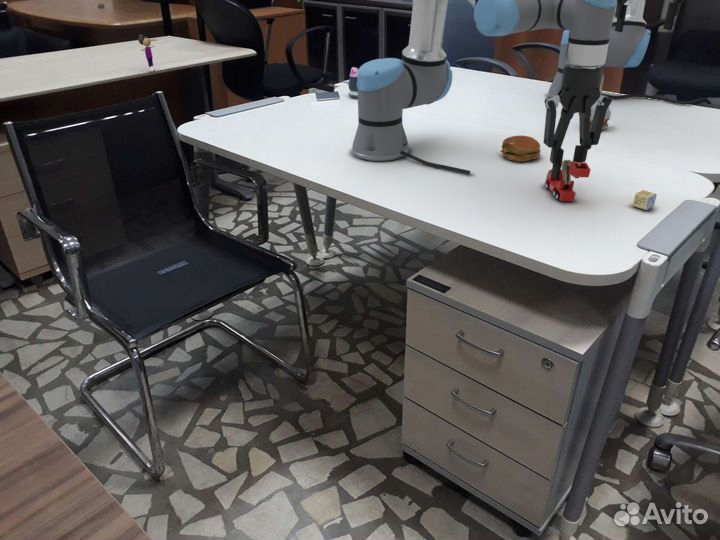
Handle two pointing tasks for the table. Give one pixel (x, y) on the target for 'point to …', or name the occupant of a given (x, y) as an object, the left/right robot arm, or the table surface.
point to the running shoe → (353, 82)
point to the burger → (520, 148)
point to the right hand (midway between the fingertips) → (642, 30)
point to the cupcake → (608, 112)
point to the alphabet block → (644, 200)
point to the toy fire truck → (566, 179)
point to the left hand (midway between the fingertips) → (564, 176)
